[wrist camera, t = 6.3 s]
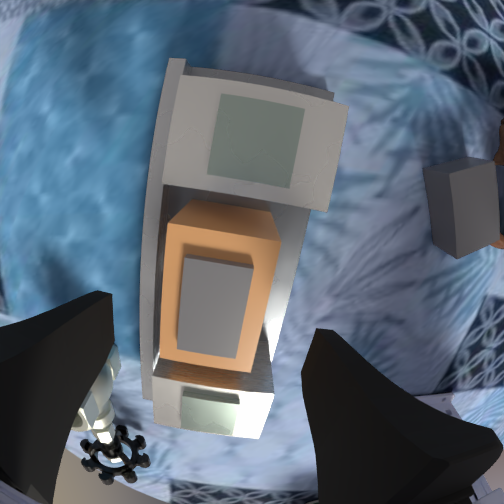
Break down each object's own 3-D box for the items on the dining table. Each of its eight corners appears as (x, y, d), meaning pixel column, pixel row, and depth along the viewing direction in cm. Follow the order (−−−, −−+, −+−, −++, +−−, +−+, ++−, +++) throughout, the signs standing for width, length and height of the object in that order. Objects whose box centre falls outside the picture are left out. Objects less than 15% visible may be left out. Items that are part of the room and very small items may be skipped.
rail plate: (329, 95, 14) (371, 71, 9) (258, 392, 21) (262, 456, 15) (180, 70, 14) (147, 33, 8) (151, 375, 20) (129, 435, 14)
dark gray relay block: (465, 156, 15) (494, 161, 12) (473, 226, 17) (499, 239, 14) (420, 167, 16) (448, 173, 13) (431, 243, 17) (456, 259, 14)
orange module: (270, 212, 15) (282, 245, 10) (249, 314, 17) (250, 378, 12) (192, 198, 15) (164, 225, 10) (180, 303, 17) (157, 363, 12)
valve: (59, 322, 19) (94, 423, 23) (13, 376, 13) (72, 474, 16) (136, 335, 19) (157, 436, 23) (102, 404, 13) (143, 494, 17)
